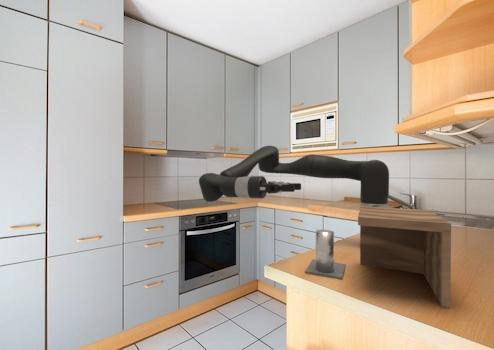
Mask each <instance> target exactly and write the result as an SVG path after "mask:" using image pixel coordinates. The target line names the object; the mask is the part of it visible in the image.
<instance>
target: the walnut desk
mask: <svg viewBox="0 0 494 350" xmlns="http://www.w3.org/2000/svg"><path fill="white" fill-rule="evenodd" d="M359 208H360V209H359V211H358V215H357V225H358V226H359V228H360V230H359V234H360V235H359V236H360V237H359V238H360V239H359V247H360V248H359V258H360V259H359V265H361V266H365V267H372V268H379V269H380V268H381V269H387V270H394V271H401V272H408V273H415V274H421V275H422V274H423V275H424V277H425V279H426V280H427V283H428V284H429V286H430V288H431V290H432V291H433V294H434V295H435V297H436V300H437V301H438V303H439V305H440V307H442V308H447V309H451V285H452V284H451V283H452V281H451V277H452V275H451V273H452V272H451V269H452V267H451V265H452V222H450V221H448V220H446V219H445V218H443V217H441V216H440V215H438V214H437V213H435V212H434V211H432V210H431V209H418V208H417V209H415V208H396V207H388V208H382V207H364V206H361V207H359Z"/></svg>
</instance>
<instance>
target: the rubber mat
mask: <svg viewBox="0 0 494 350" xmlns="http://www.w3.org/2000/svg"><path fill="white" fill-rule="evenodd" d="M346 264H347V263H342V262H341V263H340V262H335V261H334V271H333V272H331V273H323V272H319V271H317V270H316V258H315V259H313V258H312V259H311V261H310V262H309V264H308V266H307V267H306V268H305V270H304V274H308V275H312V276H320V277H325V278H332V279H338V280H343V277H344V273H345V270H346V266H347V265H346Z"/></svg>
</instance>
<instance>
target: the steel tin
mask: <svg viewBox="0 0 494 350" xmlns="http://www.w3.org/2000/svg"><path fill="white" fill-rule="evenodd" d="M334 235H335V232H334V230H329V229H316V230H315V260H316V270H317V271H319V272H323V273H331V272H333V271H334V262H335V247H334V246H335V243H334V242H335V239H334Z"/></svg>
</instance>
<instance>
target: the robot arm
mask: <svg viewBox="0 0 494 350" xmlns="http://www.w3.org/2000/svg"><path fill="white" fill-rule="evenodd" d="M257 165H258V169H259V171H261V172H263V173H265V174H266V173H268V174H283V175H288V174H289V175H295V176H296V175H298V176H304V177H312V178H319V179H348V180H353V181H359V182H360V199H359V200H360V202H359V203H360V207H361V206H364V207H382V208H389V205H388V204H389V203H388V202H389V194H390V192H389V191H390V190H389V189H390V170H389V166H388V165H387V164H386V163H385V162H383V161H382V160H379V159H370V160H347V159H343V158H339V157H334V156H329V155H322V154H308V155H305V156H302V157H300V158H298V159H296V160H294V161H291V162H280V153H279V149H278V147H276V146H274V145H265V146H262V147H260V148H258V149H257V150H255V151H254V152H252V153H251V154H250V155H248V156H247V157H245V158H244V159H243V160H241V161H240V162H238V163H237V164H235V165H233V166H230V167H229V168H226V169H224V170H222V171H221V172H220V173H219V174H218V173H213V172H207V173H204V174H202V175H200V177H199V178H198V184H199V186H200V187H199V188H200V191H201V194H202V197H203V199H204V200H205V202H209V203H213V202H217V201H218V200H219V199H220V198H222V197H223V196H225V197H226V198H242V199H265V197H266V195H267V194H268V195H269V194H270V195H271V194H278V193H280V194H281V193H290V192H291V193H293V192H295V191H301V190H302V183H301V182H300V183H299V182H294V183H293V182H292V183H290V181H289V182H284V181H276V180H275V181H274V180H272V181H271V180H270V181H267V179H266V177H265V176H263V175H261V176H260V175H256V176H255V175H254V176H253V175H252V176H249V175H250V174H251V172H252V171H253V169H255V167H256V166H257ZM360 207H359V208H360Z"/></svg>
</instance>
